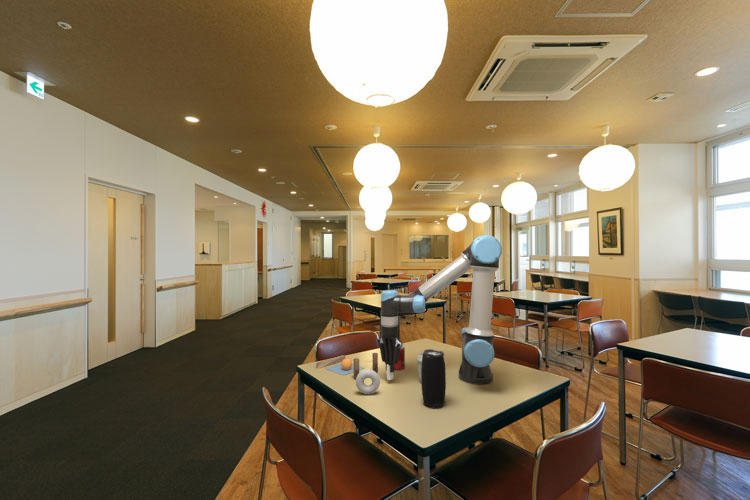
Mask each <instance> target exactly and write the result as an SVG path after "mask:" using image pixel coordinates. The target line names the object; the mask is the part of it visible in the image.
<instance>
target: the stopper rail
mask: <svg viewBox="0 0 750 500" xmlns="http://www.w3.org/2000/svg"><path fill="white" fill-rule="evenodd" d="M344 359H346V355H339V356H336V357H331V358H328V359H325V360H321V361H317V362H316V364H315V365H316V366H315V368H316V369H321V368H325V367H330V366H332V365H335V364H340V363H341V362H342V361H343V360H344Z"/></svg>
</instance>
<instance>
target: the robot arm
mask: <svg viewBox="0 0 750 500" xmlns="http://www.w3.org/2000/svg"><path fill="white" fill-rule="evenodd" d="M502 253H503V247H502V243H501V242H500V240H499V239H497V238H496V237H495V236H492V235H487V234H486V235H485V234H484V235H479V236H478V237H476V238H475V239H474V240H473V241H472V242H471V243H470V244H469V245H468V246H467V247H466V248H465V249H464V250H462V251H461V253H460V256H459V257H457V258H455V260H453V261H452V262H451V263H449V264H448V265H447V266H445V267H444V268H443V269H441V270H440V271H439V272H437V273H436V274H435V275H433V276H432V277H431V278H429V279H428V280H426V281H424V283H423V284H421V285H420V286H419V287H418V288H415V289H414V291H412V292H410V293H409V294H405V295H403V294H399V291H398V290H395V289H394V290H392V289H391V290H390V289H387V290H383V291H382V292H381V293H380V295H381V296H380V311H381V314H380V320H381V321H380V325H381V326H380V328H381V329H380V330H381V331H380V334H381V338H379V339H377V343H378V346H379V351H380V357H381V362H383V363H384V364H385V372H386V380H387V381H391V380H394V372H395V370H394V365H395V364H397V363H398V361H399V355H400V350H401V347H402V345H403V346H404V344H403V342H400V341H399V338H398V334H399V326H398V325H399V313H408V314H409V313H411V314H412V313H413V314H414V313H416V314H421V313H425V311H426V303H427V302H428V301H429V300H431V299H432V298H433V297H435V296H436V295H437V294H439V293H440V292H442V291H443V290H444V289H446V288H447V287H448V286H450V285H451V284H452V283H454V282H455V281H456V280H458V279H459V278H460V277H462V276H463V275H465V274H466V273H468V271H470V270H472V281H471V282H472V283H471V284H472V285H471V294H470V310H469V311H470V312H469V323H468V327H463V328H462V329H461V363H460V366H459V369H458V379H459V380H461V381H463V382H465V383H469V384H472V385H473V384H474V385H486V384H490V383H493V381H494V375H493V372H492V368H491V364H492V362H493V360H494V358H495V349H494V340H495V339H494V336H495V334H494V332H493V331H492V330H491V327H492V324H491V323H492V315H493V314H492V313H493V299H494V298H493V297H494V285H495V284H494V283H495V273H496V272H497V271H498V270H499V268H500V258H501V256H502Z"/></svg>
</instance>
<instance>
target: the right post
mask: <svg viewBox="0 0 750 500" xmlns="http://www.w3.org/2000/svg"><path fill="white" fill-rule="evenodd" d="M371 355H372V370H373V371H375V372H376V373H377V374H378V373H379V357H378V356H379V354H378V353H377V352H373V353H372V354H371Z"/></svg>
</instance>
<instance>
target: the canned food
mask: <svg viewBox="0 0 750 500" xmlns="http://www.w3.org/2000/svg"><path fill="white" fill-rule="evenodd" d="M405 352H406V350H405V345H404V344H403V345H402V347H401V350H400V355H399V361H398V363H397V364H395V365H394V371H402V370H404V369H405V368H406V367H405V366H406V364H405V363H406V359H405V358H406V356H405V355H406V353H405Z"/></svg>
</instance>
